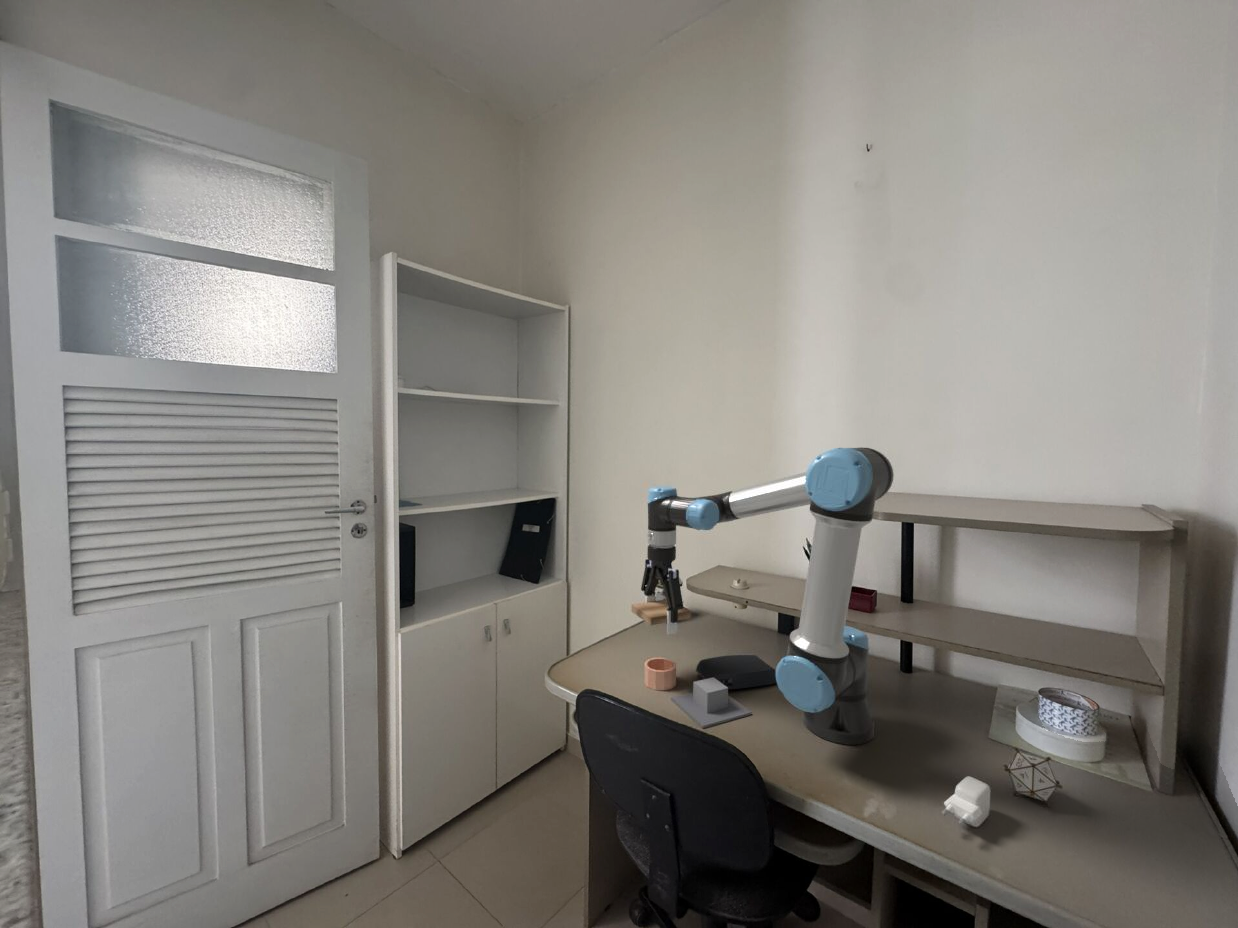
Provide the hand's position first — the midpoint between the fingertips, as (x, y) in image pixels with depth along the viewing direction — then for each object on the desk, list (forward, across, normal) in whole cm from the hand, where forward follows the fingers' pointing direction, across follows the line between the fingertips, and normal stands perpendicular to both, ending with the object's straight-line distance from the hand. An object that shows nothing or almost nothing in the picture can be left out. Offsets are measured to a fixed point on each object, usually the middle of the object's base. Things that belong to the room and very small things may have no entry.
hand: (660, 625), depth 139 cm
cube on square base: (+16, +16, +5) cm, 23 cm away
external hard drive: (+15, +7, +20) cm, 26 cm away
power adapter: (+16, +66, +23) cm, 72 cm away
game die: (+16, +67, +41) cm, 80 cm away
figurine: (+16, -41, +27) cm, 51 cm away
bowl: (+16, 0, 0) cm, 16 cm away
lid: (-3, 0, 0) cm, 3 cm away
